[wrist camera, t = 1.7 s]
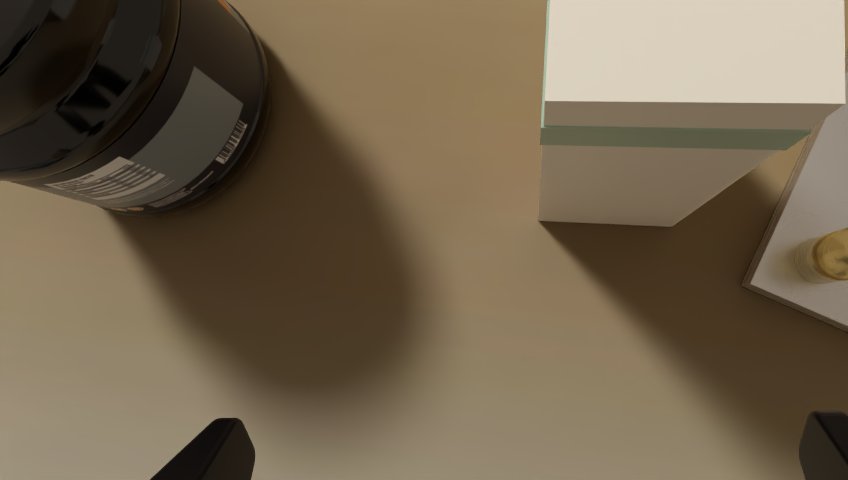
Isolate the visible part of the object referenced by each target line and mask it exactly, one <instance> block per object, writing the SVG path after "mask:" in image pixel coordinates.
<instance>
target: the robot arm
mask: <svg viewBox="0 0 848 480" xmlns="http://www.w3.org/2000/svg"><path fill="white" fill-rule="evenodd" d="M799 458H800V463H801V466H802V469H803V473H804V476H805V479H806V480H848V415H847V414H845V413H843V412H841V411H813V412H811V413H810V414H809V416H808V418H807V421H806V424H805V428H804V431H803V434H802V438H801V441H800V444H799ZM254 463H255V450H254V446H253V444H252V442H251V440H250V437H249V435H248V433H247V431H246V429H245V426H244V424H243V422H242V421H241V420H240V419H238V418H218V419H216V420H214V421H213V422H211V423H210V424H209V425H208V426H207V427H206V428H205V429H204V430H203V431H202V432H201V433H199V434H198V435H197V436H196V437H195V438H194V439H193V440H192V441H191V442H190V443H189V444H188V445H187V446H186V447H184V448H183V449H182V450H181V451H180V452H179V453H178V454H177V455H176V456H175V457H174V458H173V459H172V460H170V461H169V462H168V463H167V464H166V465H165V466H164V467H163V468H162V469H161V470H160V471H159V472H158V473H157V474H155V475H154V476H153V477H152V478H151V479H150V480H251V477H252V472H253V467H254Z"/></svg>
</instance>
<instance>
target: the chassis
mask: <svg viewBox="0 0 848 480" xmlns="http://www.w3.org/2000/svg"><path fill="white" fill-rule="evenodd" d="M845 100H846V104H844V105H843V106H842V107H840V108H839V109H837V110H836V111H834V112H833V113H832V114H830V115H829V116H827V117H826V118H825V119H823V120H822V121H820V122H819V123H818V124H816V125H815V126H813V128H812V131H811V133H810V135H809V137H808V139H807V142H806V144H805V146H804V148H803V150H802V152H801V155H800V157H799V159H798V161H797V163H796V166H795V168H794V170H793V172H792V174H791V177H790V179H789V181H788V183H787V185H786V187H785V190H784V192H783V194H782V196H781V198H780V201H779V203H778V205H777V207H776V209H775V212H774V214H773V216H772V218H771V220H770V222H769V225H768V227H767V229H766V231H765V233H764V236H763V238H762V240H761V242H760V244H759V246H758V249H757V251H756V253H755V255H754V257H753V260H752V262H751V264H750V266H749V268H748V271H747V273H746V275H745V277H744V279H743V281H742V284H741V286H743V287H745V288H747V289H750V290H752V291H754V292H756V293H759V294H761V295H763V296H766V297H768V298H770V299H773V300H775V301H777V302H779V303H782V304H784V305H786V306H789V307H791V308H793V309H795V310H798V311H800V312H802V313H805V314H807V315H809V316H811V317H814V318H816V319H818V320H821V321H823V322H825V323H828V324H830V325H832V326H834V327H837V328H839V329H841V330H844V331H846V332H848V52H847V54H846V56H845Z"/></svg>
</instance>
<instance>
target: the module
mask: <svg viewBox="0 0 848 480" xmlns="http://www.w3.org/2000/svg"><path fill="white" fill-rule="evenodd" d="M844 104H846V100H845V29H844V0H548V3H547V22H546V41H545V59H544V78H543V97H542V116H541V137H540V145H542V158H541V177H540V196H539V215H538V221H554V222H576V223H598V224H620V225H643V226H665V227H672V226H674V225H675V224H677V223H678V222H679V221H681V220H682V219H684V218H685V217H686V216H688V215H689V214H691V213H692V212H693V211H695V210H696V209H698V208H699V207H701V206H702V205H703V204H705V203H706V202H708V201H709V200H710V199H712V198H713V197H715V196H716V195H717V194H719V193H720V192H722V191H723V190H724V189H726V188H727V187H729V186H730V185H732V184H733V183H734V182H736V181H737V180H739V179H740V178H741V177H743V176H744V175H746V174H747V173H748V172H750V171H751V170H753V169H754V168H756V167H757V166H758V165H760V164H761V163H763V162H764V161H765V160H767V159H768V158H770V157H771V156H772V155H774V154H775V153H777V152H778V151H779V150H787V149H788V148H790V147H791V146H793V145H794V144H795V143H797V142H798V141H800V140H801V139H803V138H804V137H806V136H807V135H808V134H810V133H811V128H812V127H813V126H815V125H816V124H818V123H819V122H820V121H822V120H823V119H825V118H826V117H827V116H829V115H830V114H832V113H833V112H834V111H836V110H837V109H839V108H840V107H842V106H843V105H844Z"/></svg>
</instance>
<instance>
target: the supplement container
mask: <svg viewBox="0 0 848 480" xmlns="http://www.w3.org/2000/svg"><path fill="white" fill-rule="evenodd" d="M270 104H271V80H270V72H269V67H268V63H267V60H266V56H265V53H264V50H263V48H262V46H261V43H260V41H259V39H258V38H257V36H256V34H255V32H254V31H253V29H252V28H251V26H250V25H249V24H248V22H247V21H246V20H245V18H244V17H243V16H242V15H241V14H240V13H239V12H238V11H237V10H236V9H235V8H234V7H233V6H232V5H231V4H229V3H228V2H227V1H226V0H0V181H10V182H13V183H17V184H20V185H24V186H28V187H31V188H35V189H39V190H42V191H46V192H49V193H53V194H57V195H60V196H64V197H68V198H71V199H75V200H78V201H82V202H86V203H89V204H93V205H96V206H98V207H101V208H103V209H105V210H108V211H111V212H115V213H118V214H122V215H128V216H133V217H162V216H168V215H174V214H177V213H181V212H184V211H187V210H190V209H192V208H195V207H197V206H199V205H201V204H203V203H205V202H207V201H209V200H210V199H212V198H213V197H215V196H216V195H218V194H219V193H220V192H222V191H223V190H224V189H225V188H227V187H228V186H229V185H230V184H231V183H232V182H233V181H234V180H235V179H236V178H237V177H238V176H239V175H240V173H241V172H242V171H243V170H244V169H245V167H246V166H247V164H248V163H249V162H250V160H251V159H252V157H253V155H254V153H255V152H256V150H257V148H258V146H259V144H260V142H261V139H262V137H263V134H264V131H265V128H266V125H267V121H268V117H269V112H270Z"/></svg>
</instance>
